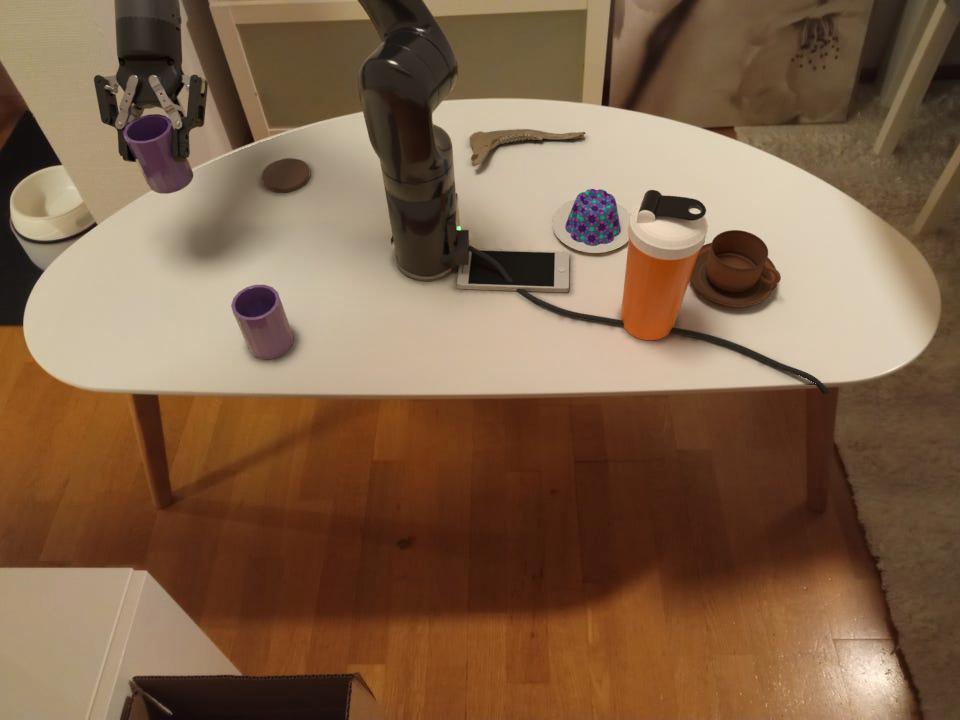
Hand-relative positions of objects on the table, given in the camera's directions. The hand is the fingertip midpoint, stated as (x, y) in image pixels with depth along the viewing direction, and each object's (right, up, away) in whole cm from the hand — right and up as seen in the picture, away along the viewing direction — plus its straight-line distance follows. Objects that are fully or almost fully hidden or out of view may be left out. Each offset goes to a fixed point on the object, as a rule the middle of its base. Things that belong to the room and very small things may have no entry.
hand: (154, 160), depth 97 cm
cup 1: (0, -1, +4) cm, 5 cm away
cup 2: (+14, -23, +4) cm, 27 cm away
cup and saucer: (+76, -15, +8) cm, 78 cm away
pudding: (+58, -6, +16) cm, 61 cm away
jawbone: (+49, +8, +27) cm, 56 cm away
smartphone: (+46, -13, +11) cm, 49 cm away
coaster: (+10, +4, +25) cm, 27 cm away
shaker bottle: (+64, -20, +5) cm, 67 cm away
